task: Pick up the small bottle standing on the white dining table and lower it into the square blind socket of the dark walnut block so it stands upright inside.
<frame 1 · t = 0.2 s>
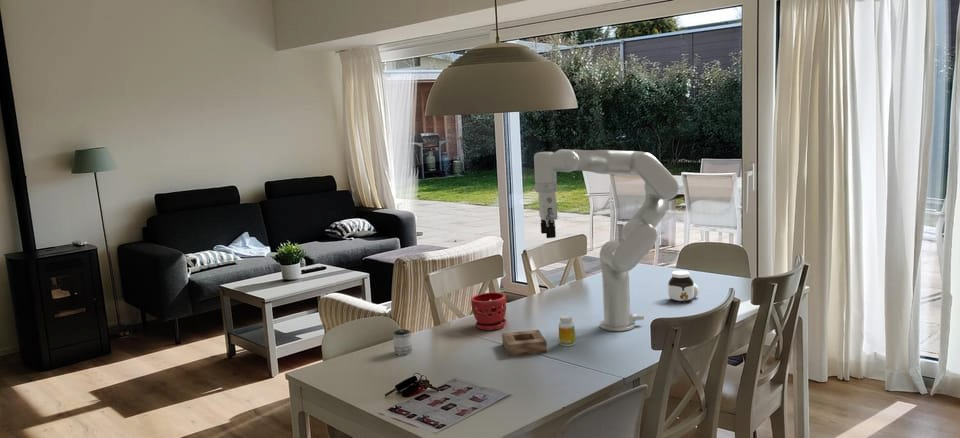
hand: (548, 235, 255), 36 cm above the table, tool pointing down, fingers open, 9 cm apart
spread jar: (684, 300, 293), on the table
socket block: (524, 348, 246), on the table
supplement bottle: (567, 344, 248), on the table
plant pot: (490, 327, 273), on the table
camera lens: (403, 353, 250), on the table
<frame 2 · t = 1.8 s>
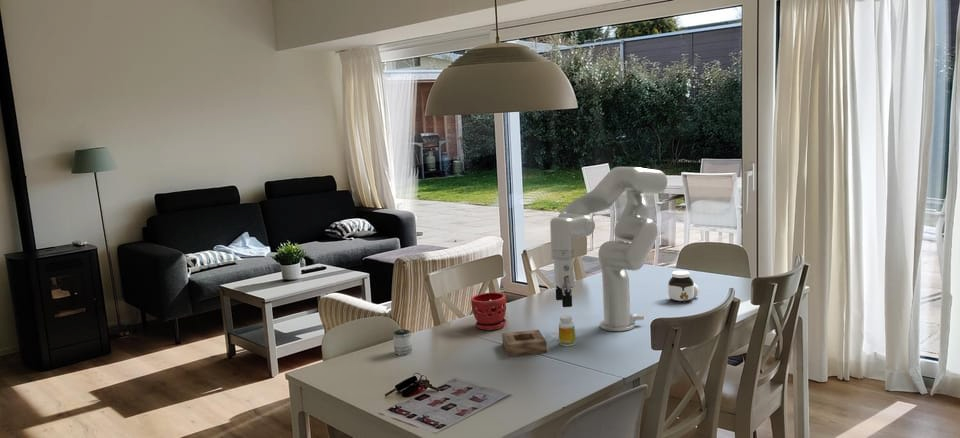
hand: (563, 303, 245), 15 cm above the table, tool pointing down, fingers open, 9 cm apart
nothing on the table moved.
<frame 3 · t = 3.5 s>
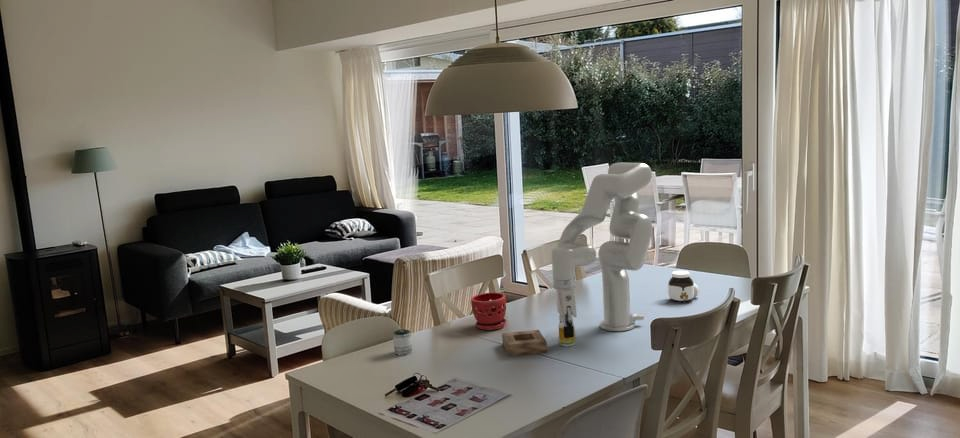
hand: (566, 334, 247), 4 cm above the table, tool pointing down, fingers closed on supplement bottle, 5 cm apart
supplement bottle: (567, 344, 248), on the table, touching gripper
everything else where it was.
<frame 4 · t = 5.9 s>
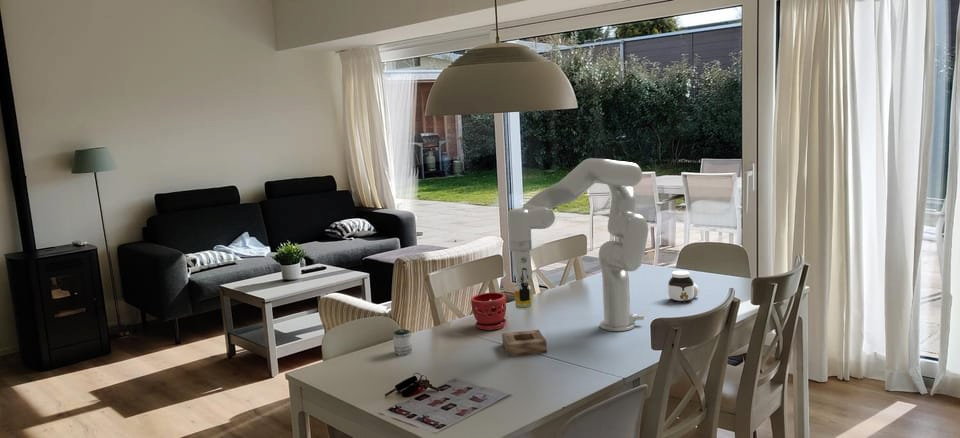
hand: (523, 297, 243), 18 cm above the table, tool pointing down, fingers closed on supplement bottle, 5 cm apart
supplement bottle: (523, 308, 244), point 14 cm above the table, touching gripper
everything else where it was.
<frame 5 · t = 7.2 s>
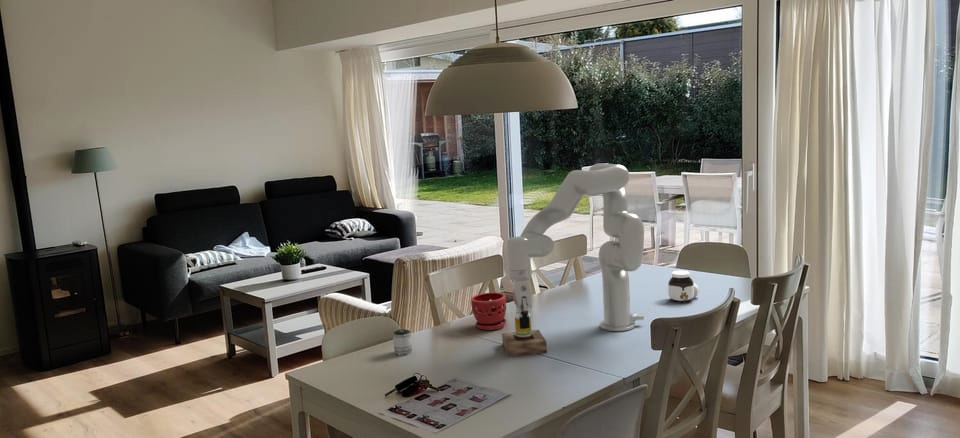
hand: (523, 325, 245), 8 cm above the table, tool pointing down, fingers closed on supplement bottle, 5 cm apart
supplement bottle: (523, 335, 245), point 5 cm above the table, touching gripper
everything else where it was.
when the fingers open (5 cm above the table, at t = 8.3 s): supplement bottle stays where it is, resting on socket block.
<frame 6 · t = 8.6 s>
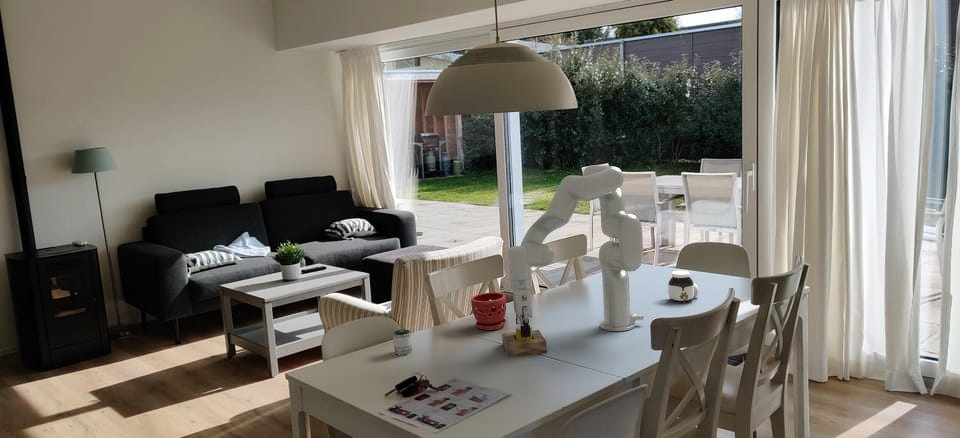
hand: (523, 332, 245), 6 cm above the table, tool pointing down, fingers open, 8 cm apart
supplement bottle: (524, 346, 246), point 1 cm above the table, touching socket block
everything else where it was.
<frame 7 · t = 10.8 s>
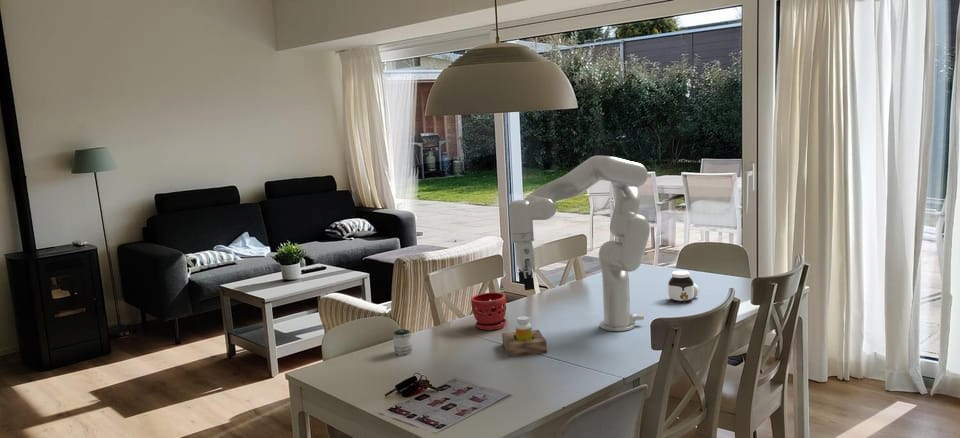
hand: (526, 286, 246), 21 cm above the table, tool pointing down, fingers open, 9 cm apart
nothing on the table moved.
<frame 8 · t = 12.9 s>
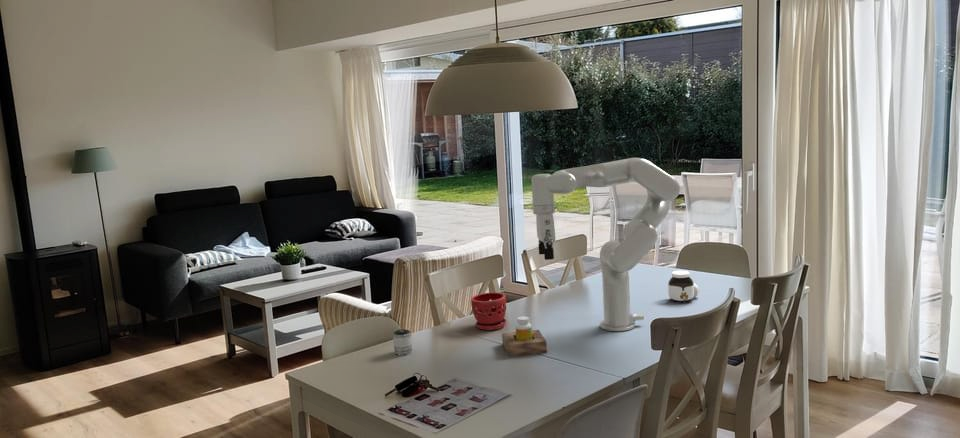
hand: (546, 256, 256), 28 cm above the table, tool pointing down, fingers open, 9 cm apart
nothing on the table moved.
at the end: supplement bottle 0.2 cm off-centre on the socket block, point 0.8 cm above the socket block's base; supplement bottle tilted 0°; the gripper is holding nothing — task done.
